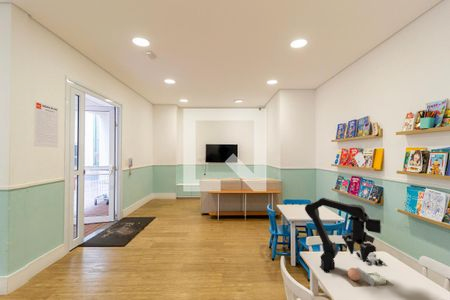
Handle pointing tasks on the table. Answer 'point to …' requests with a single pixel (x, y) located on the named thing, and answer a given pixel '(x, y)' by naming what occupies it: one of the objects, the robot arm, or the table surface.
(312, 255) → the table surface
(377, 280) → the ring
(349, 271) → the rubber ball
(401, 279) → the table surface
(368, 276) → the fence board
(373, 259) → the robot toy
